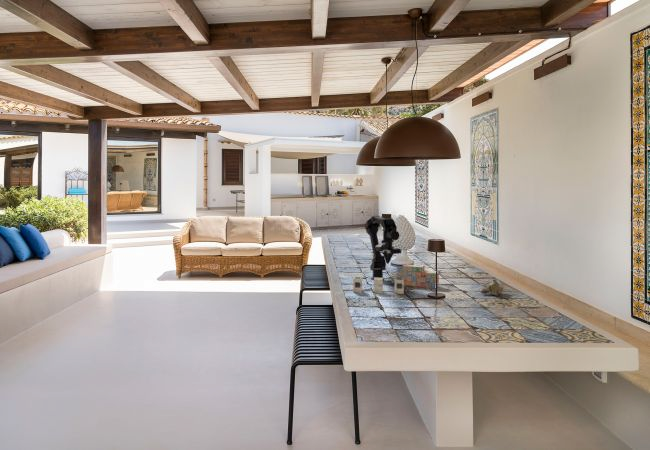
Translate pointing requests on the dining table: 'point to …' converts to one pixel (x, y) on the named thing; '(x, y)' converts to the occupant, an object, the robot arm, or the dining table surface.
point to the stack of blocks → (419, 276)
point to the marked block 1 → (357, 284)
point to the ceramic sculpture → (493, 288)
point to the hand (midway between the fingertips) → (387, 263)
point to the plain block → (378, 285)
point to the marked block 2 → (399, 286)
